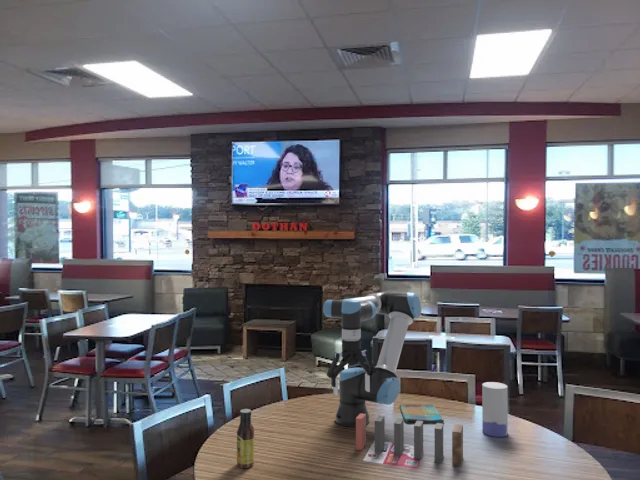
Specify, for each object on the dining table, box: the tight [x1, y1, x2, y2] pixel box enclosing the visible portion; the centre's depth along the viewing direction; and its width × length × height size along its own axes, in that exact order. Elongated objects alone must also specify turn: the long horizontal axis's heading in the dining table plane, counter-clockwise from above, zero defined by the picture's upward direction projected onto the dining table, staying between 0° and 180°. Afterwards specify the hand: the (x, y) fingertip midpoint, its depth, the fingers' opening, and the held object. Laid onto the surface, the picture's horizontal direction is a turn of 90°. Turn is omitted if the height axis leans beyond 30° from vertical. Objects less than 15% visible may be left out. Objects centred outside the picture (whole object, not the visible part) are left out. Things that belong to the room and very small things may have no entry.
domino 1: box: [374, 415, 386, 454], centre depth 195 cm, size 2×6×12 cm, turn 159°
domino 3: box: [413, 420, 424, 460], centre depth 190 cm, size 2×6×12 cm, turn 159°
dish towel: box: [399, 403, 445, 425], centre depth 235 cm, size 17×23×2 cm
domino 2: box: [393, 417, 405, 457], centre depth 193 cm, size 2×6×12 cm, turn 159°
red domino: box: [355, 413, 367, 451], centre depth 198 cm, size 2×6×12 cm, turn 159°
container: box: [481, 381, 509, 438], centre depth 213 cm, size 10×10×20 cm
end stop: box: [451, 423, 464, 467], centre depth 185 cm, size 3×8×12 cm, turn 159°
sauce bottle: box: [236, 408, 255, 469], centre depth 182 cm, size 7×6×20 cm
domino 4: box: [434, 423, 444, 463], centre depth 187 cm, size 2×6×12 cm, turn 159°
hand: (351, 393), depth 200 cm, fingers open, 13 cm apart
